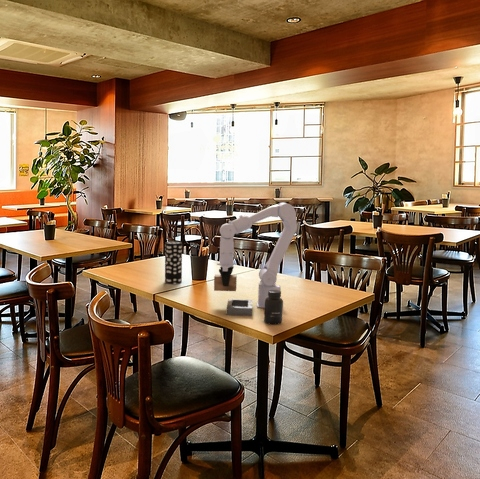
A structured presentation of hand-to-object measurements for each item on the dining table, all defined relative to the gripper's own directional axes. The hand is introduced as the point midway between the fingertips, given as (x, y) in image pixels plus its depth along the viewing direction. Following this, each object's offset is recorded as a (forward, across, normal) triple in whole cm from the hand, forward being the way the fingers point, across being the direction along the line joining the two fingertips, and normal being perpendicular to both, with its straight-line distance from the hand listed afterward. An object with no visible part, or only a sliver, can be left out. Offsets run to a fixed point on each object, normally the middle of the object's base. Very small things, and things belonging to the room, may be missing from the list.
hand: (226, 284), depth 194 cm
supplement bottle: (+9, +20, +19) cm, 29 cm away
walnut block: (+2, 0, 0) cm, 2 cm away
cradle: (+9, +7, +6) cm, 13 cm away
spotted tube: (+9, -38, -29) cm, 48 cm away
